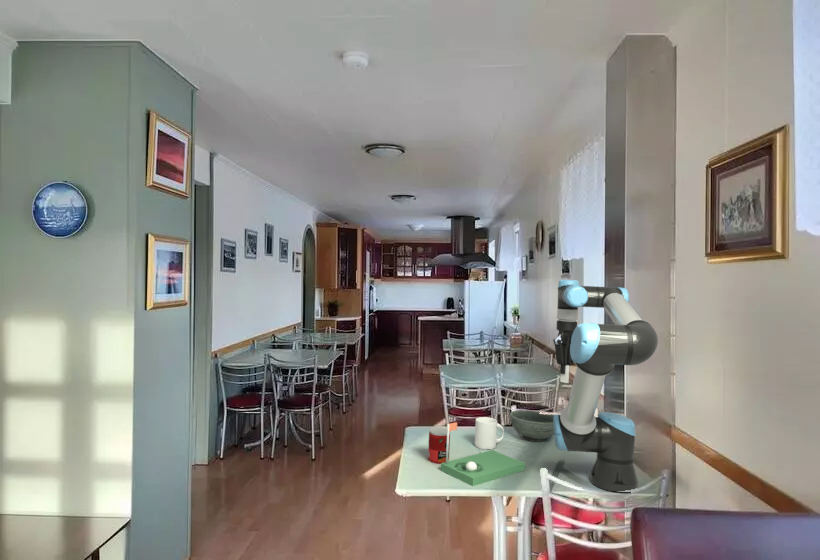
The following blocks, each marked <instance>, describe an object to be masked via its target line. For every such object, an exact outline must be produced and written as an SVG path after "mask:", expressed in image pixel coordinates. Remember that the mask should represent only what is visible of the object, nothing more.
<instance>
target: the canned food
mask: <svg viewBox="0 0 820 560" xmlns="http://www.w3.org/2000/svg"><path fill="white" fill-rule="evenodd" d="M450 438H451V431H449V448H448V461H450V445H451V444H450V443H451V439H450ZM446 448H447V428H444V427H431V428H430V429H429V431H428V451H427V452H428V453H427V455H428V456H427V458H428V461H429V462H430V463H432V464H437V465H441V463H444V462H446Z"/></svg>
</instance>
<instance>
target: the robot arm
mask: <svg viewBox="0 0 820 560" xmlns="http://www.w3.org/2000/svg"><path fill="white" fill-rule="evenodd" d="M629 302H630V293H629V291H628V289H627V288H625V287H619V286H593V285H591V286H590V285H580V282H579V280H577V279H559V280H558V286H557V311H556V319H557V320H556V330H557V331H558V333H557V338H553V341H552V342H553V344H554V352H555V360H556V364H557V365H560V371H559V373H560V375H559V377H560V378H559V379H560V381H559V382H560V383H564V384H569V382H570V381H569V380H570V378H569V377H570V366H573V363H574V364H575V366H576V369H575V374H574V377H573V383H572V386H571V389H570V393H569V394H570V395H569V398H568V402H567V406H566V407H564V408H563V409H562V410H561V411H560V414H559V413H557V414H553V415H554V417H553V427H554V433H553V435H554V443H555V446H556V448H557V449H558V450H559V451H566V452H582V453H596V460H595V462H594V465H593V467H592V470H591V471H590V483H591V484H592V485H593V486H595V487H597V488H599V489H602V490H603V491H604V490H605V491H607V490H608V492H612V491H625V490H631V489H635V488H638V489H639V479H638V476H637V475H638V474H637V471H636V468H635V463H634V462H635V460H634V459H635V458H634V457H635V440H636V426H635V422H634V421H633V420H632V419H630V418H628V417H627V416H624V415H622V414H617V413H614V412H608V411H600V412H599V413H598V415H597V416H595V413H596V410H597V406H598V403H599V400H600V397H601V392H602V389H603V386H604V383H605V380H606V377H607V376H608V375H610V374H611V373H612V372H613V371H614V369H615V366H617V365H619V366H637V365H640V364H642V363H644V362H647V360H649V359H650V358H652V356H653V355H654V354H655V352H656V350H657V348H658V343H659V342H658V341H659V338H658V334H657V331H656V330H655V328H654V327H653V326H652V324H650V323H649V322H648V321H646V320H643V319H642V318H641V317H640V316H639V314H638V313H637V311H635V309H634V308H633V307H632V306H631V305H630V303H629ZM582 307H583V308H600V309H601V308H603V309H604V310H605V312H606V314H608V316H609V318H610V319H611V320H612V322H613V323H614V324H609V323H605V324H604V323H595V322H587V323H579V324H578V322H577V321H578V319H579V308H582Z"/></svg>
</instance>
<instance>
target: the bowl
mask: <svg viewBox="0 0 820 560" xmlns="http://www.w3.org/2000/svg"><path fill="white" fill-rule="evenodd" d="M540 412H542V413H543V412H544V411H538V410H537V411H535V410H526V409H525V410H524V409H522V410H519V409H518V410H513V411H511V412H510V413H509V416H510V418H511V424H512V426H513V428H514V431H516V432H517V434H519V435H521V437H522V438H523V439H524V440H527V441H531V442H543V441H545V439H546V438H549V437H551V436H552V435H554V427H553V417H554V415H555V414H551V413H550V414H551V415H540V414H539V413H540Z"/></svg>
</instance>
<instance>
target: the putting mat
mask: <svg viewBox="0 0 820 560" xmlns="http://www.w3.org/2000/svg"><path fill="white" fill-rule="evenodd" d="M446 429H447V448H446V462H444V463H441V464H440V471H441V472H442V473H445V474H448V475H449V476H450V477H451V476H452V477H453V478H455V479H458V480H460V481H461V482H464V483H466V484H468V485H470V486H472V487H475V486H478V485H480V484H481V485H482V484H483V483H487V482H490V481H493V480H498V479H501V478H503V476H504V477H507V476H510V475H514V474H516V473H520V472H523V470H524V471H526V463H525V462H523V461H521V460H519V459H516V458H513V457H510V456H508V455H505V454H503V453H501V452H499V451H495V450H494V449H490V450H487V451H484V452H480V453H477V454H476V453H475V454H472V455H468V456H464V457H460V458H456V459H452V460H449V461H448V448H449V431H450V432H452V431H453V432H454V431H456V430H458V422H452V423H451V422H450V423H447V426H446ZM471 461H472V462H474V463H476V465H477V470H466V464H467V463H468V462H471ZM513 473H514V474H513ZM500 477H501V478H500Z"/></svg>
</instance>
